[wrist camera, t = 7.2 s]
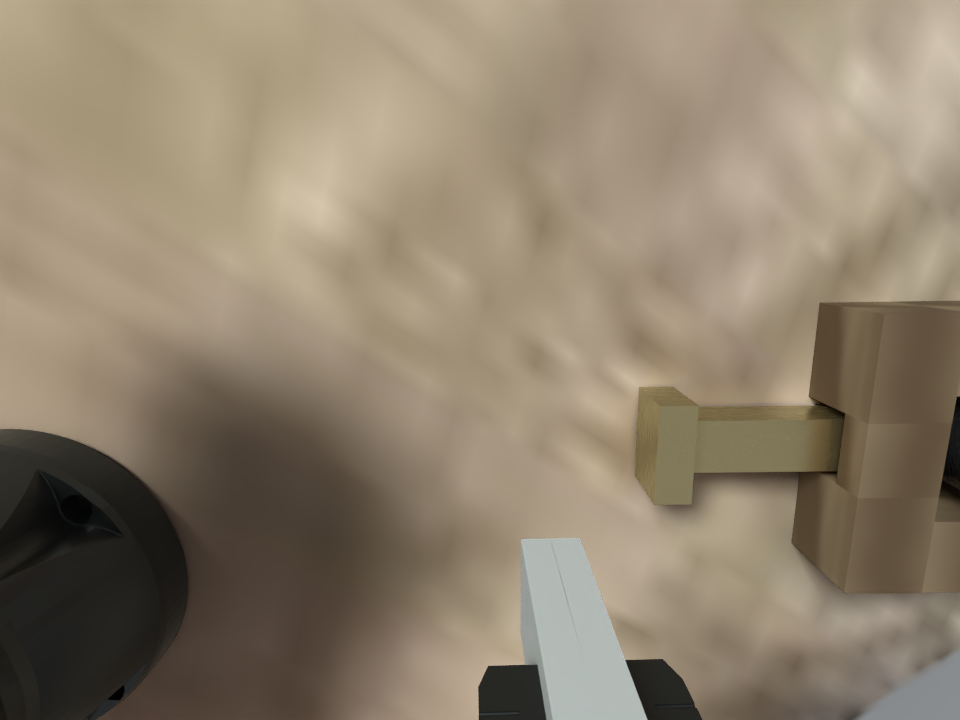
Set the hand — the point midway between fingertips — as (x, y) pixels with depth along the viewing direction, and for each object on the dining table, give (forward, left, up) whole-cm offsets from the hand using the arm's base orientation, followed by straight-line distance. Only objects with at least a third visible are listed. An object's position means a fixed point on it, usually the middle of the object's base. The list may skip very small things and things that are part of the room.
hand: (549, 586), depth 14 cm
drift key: (+10, 0, -12) cm, 16 cm away
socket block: (+20, 0, -12) cm, 23 cm away
